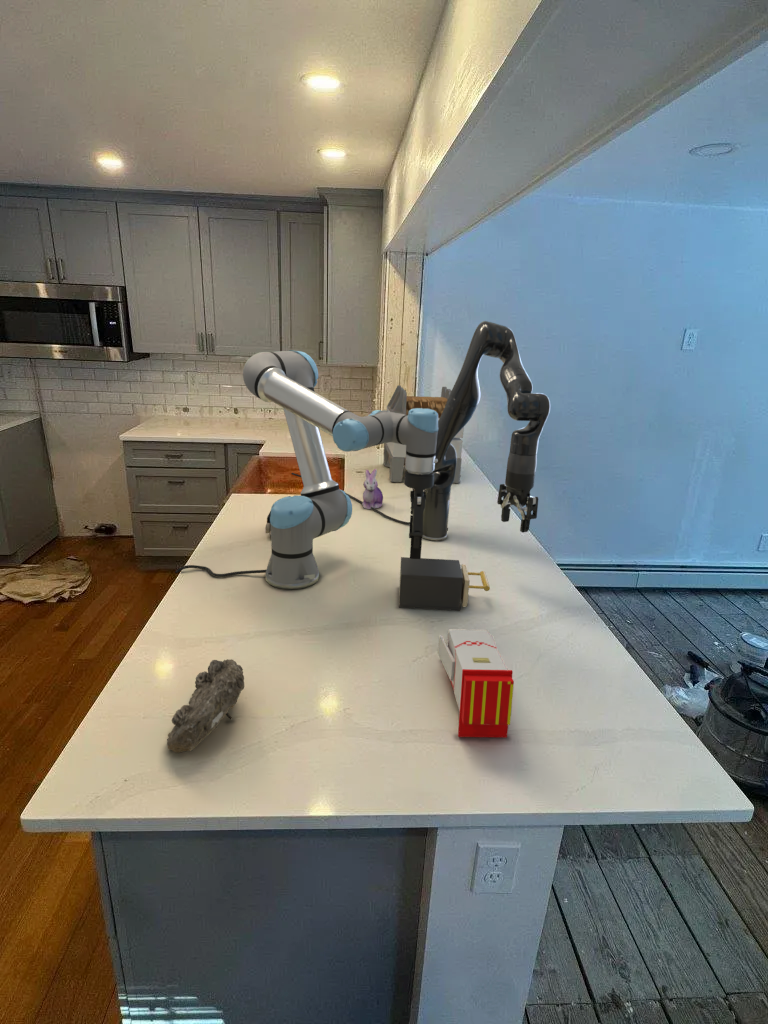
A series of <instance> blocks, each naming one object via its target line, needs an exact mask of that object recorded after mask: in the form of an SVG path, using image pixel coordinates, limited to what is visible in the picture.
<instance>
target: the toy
mask: <svg viewBox="0 0 768 1024" xmlns="http://www.w3.org/2000/svg"><path fill="white" fill-rule="evenodd" d="M446 640H447V643H446V641H445V639H444V636H443V635H442V634H439V637H438V646H437V656H438V657H439V659H440V661H441V663H442V666H443V668H444V670H445V672H446V674H447V677H448V679H449V681H450V684H451V687H452V690H453V693H454V697H455V701H456V705H457V708H458V711H459V714H458V715H459V716H458V730H457V731H458V732H457V737H458V738H508V731H509V726H510V725H511V717H512V707H513V697H514V696H513V695H514V684H515V680H514V679H513V673H514V671H513V670H512V669H508V667H507V665H506V662H505V661H504V659H503V658H502V655H501V653H500V651H499V649H498V647H497V643H496V639H495V637H494V635H493V634H491V632H490V631H489V629H467V628H466V629H465V628H463V629H461V628H460V629H459V628H448V630H447V639H446Z"/></svg>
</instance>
